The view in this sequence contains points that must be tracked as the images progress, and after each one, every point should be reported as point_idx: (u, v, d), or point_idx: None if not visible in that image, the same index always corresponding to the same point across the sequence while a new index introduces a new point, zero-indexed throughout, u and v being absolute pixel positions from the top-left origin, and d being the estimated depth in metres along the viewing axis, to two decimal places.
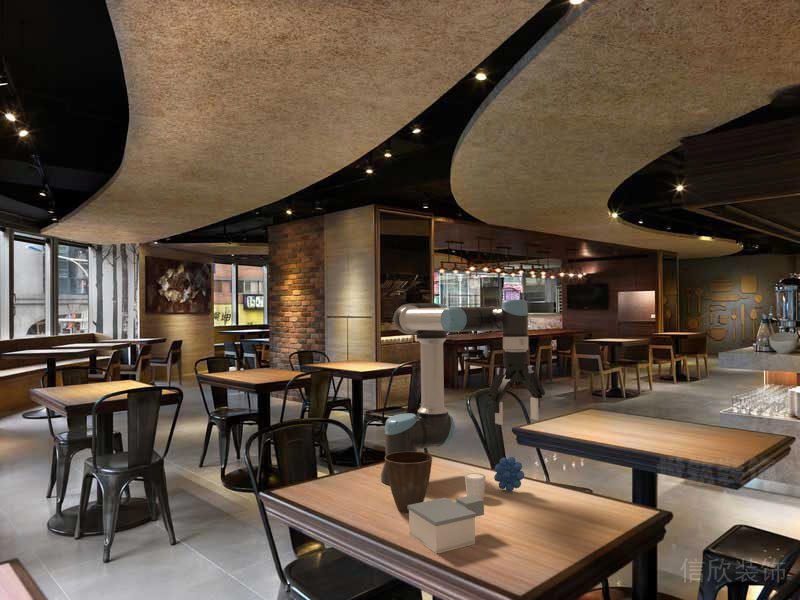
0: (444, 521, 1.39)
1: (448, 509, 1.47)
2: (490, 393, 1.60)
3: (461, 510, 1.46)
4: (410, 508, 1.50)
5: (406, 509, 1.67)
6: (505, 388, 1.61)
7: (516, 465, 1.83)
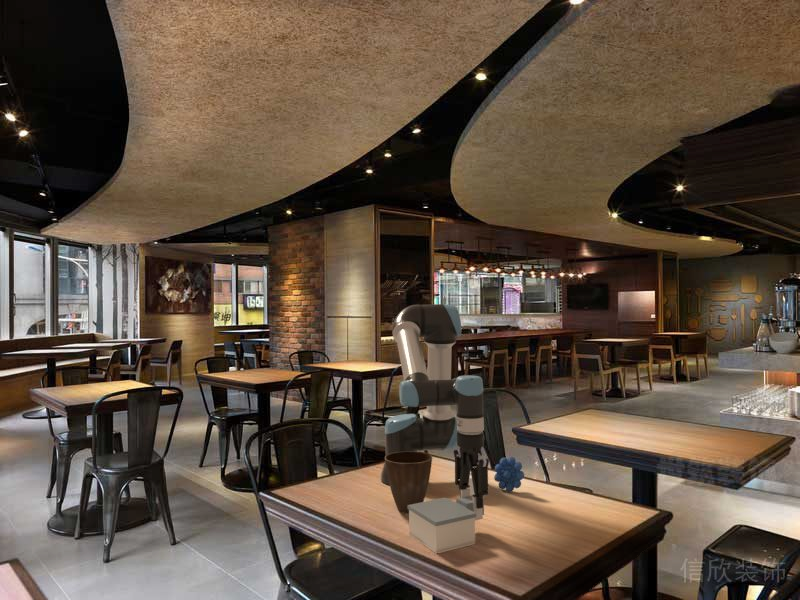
0: (444, 521, 1.39)
1: (448, 509, 1.47)
2: None
3: (461, 510, 1.46)
4: (410, 508, 1.50)
5: (406, 509, 1.67)
6: (461, 473, 1.54)
7: (516, 465, 1.83)
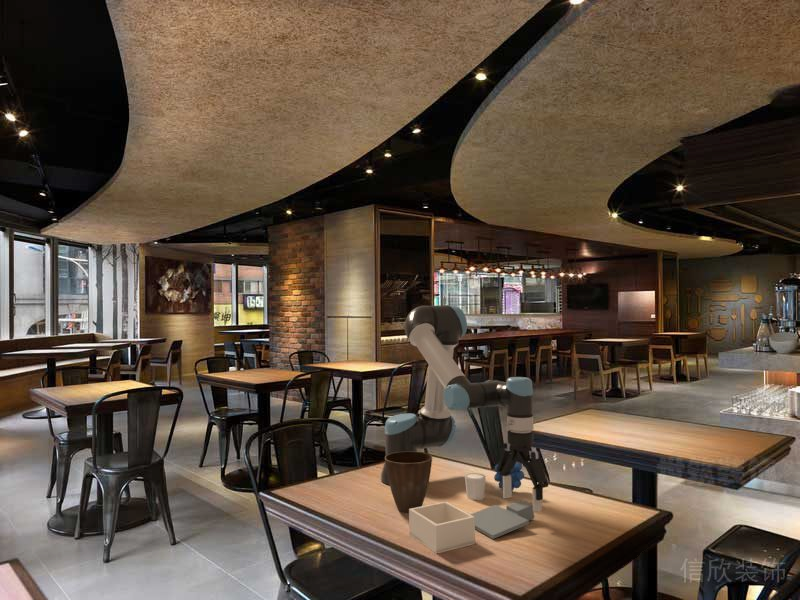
0: (500, 532, 1.48)
1: (501, 518, 1.55)
2: None
3: (513, 519, 1.54)
4: None
5: (406, 509, 1.67)
6: (506, 464, 1.65)
7: (516, 465, 1.83)
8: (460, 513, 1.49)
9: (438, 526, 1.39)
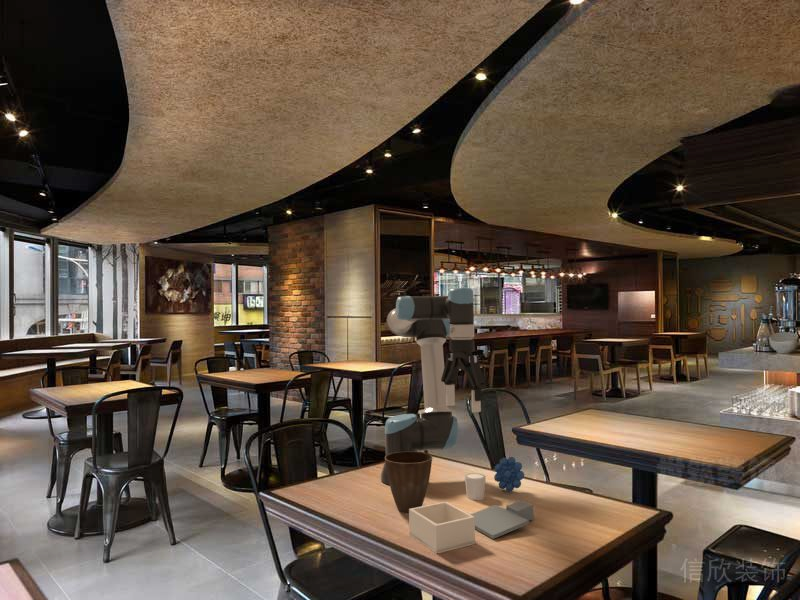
0: (500, 532, 1.48)
1: (501, 518, 1.55)
2: None
3: (513, 519, 1.54)
4: None
5: (406, 509, 1.67)
6: (449, 373, 1.71)
7: (516, 465, 1.83)
8: (460, 513, 1.49)
9: (438, 526, 1.39)
